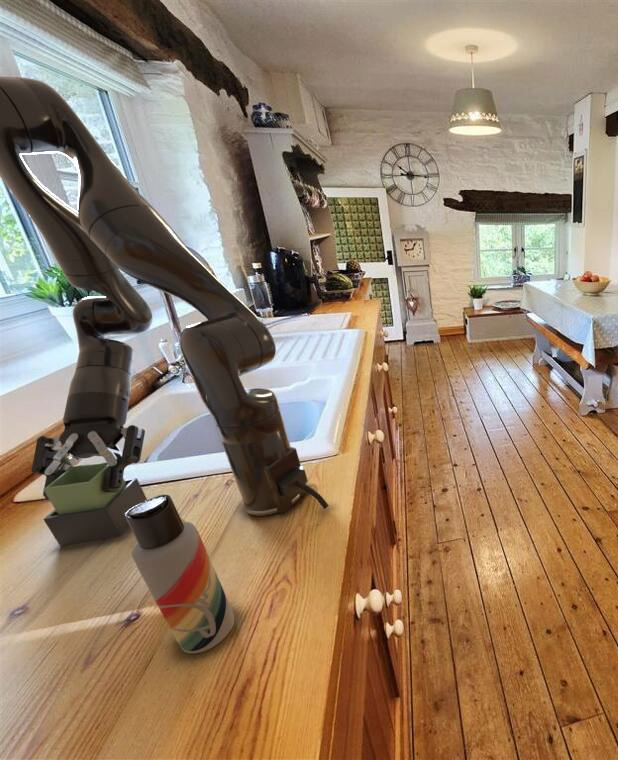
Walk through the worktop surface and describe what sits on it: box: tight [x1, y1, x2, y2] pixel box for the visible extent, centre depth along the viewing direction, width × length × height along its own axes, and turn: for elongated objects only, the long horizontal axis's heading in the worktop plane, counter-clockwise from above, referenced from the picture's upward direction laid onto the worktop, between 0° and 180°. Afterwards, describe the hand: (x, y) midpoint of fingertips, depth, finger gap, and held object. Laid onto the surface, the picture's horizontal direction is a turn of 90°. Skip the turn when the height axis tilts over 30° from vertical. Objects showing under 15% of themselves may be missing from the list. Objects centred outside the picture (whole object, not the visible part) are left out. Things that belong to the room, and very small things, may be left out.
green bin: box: [42, 461, 127, 515], centre depth 67 cm, size 6×6×10 cm
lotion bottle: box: [125, 494, 235, 654], centre depth 47 cm, size 6×6×20 cm
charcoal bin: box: [43, 477, 148, 547], centre depth 68 cm, size 8×8×6 cm
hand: (82, 495), depth 64 cm, fingers open, 7 cm apart
